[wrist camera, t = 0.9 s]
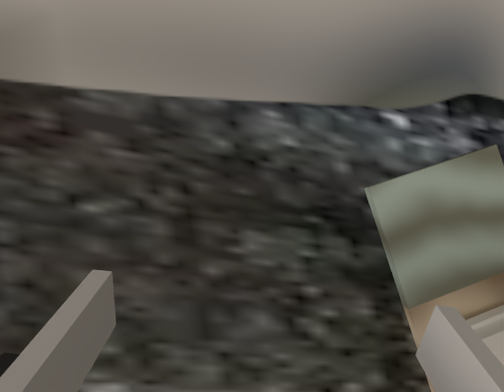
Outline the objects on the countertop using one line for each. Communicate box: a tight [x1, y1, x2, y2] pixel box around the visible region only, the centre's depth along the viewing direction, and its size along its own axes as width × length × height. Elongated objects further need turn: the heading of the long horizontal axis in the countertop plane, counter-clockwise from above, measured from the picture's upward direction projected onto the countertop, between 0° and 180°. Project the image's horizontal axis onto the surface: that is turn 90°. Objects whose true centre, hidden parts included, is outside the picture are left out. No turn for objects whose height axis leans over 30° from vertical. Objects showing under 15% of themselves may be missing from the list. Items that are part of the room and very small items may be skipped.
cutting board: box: [364, 145, 504, 392], centre depth 30 cm, size 26×14×1 cm, turn 18°
